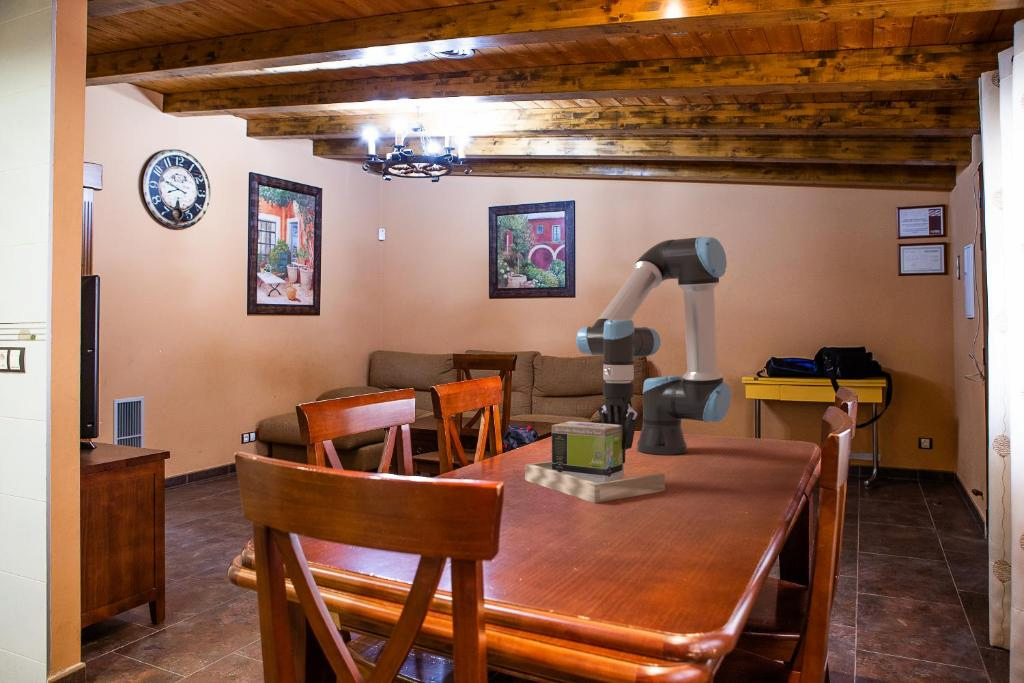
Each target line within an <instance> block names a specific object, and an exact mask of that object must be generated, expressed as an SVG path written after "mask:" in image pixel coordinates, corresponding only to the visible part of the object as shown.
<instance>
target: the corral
mask: <svg viewBox="0 0 1024 683" xmlns="http://www.w3.org/2000/svg"><path fill="white" fill-rule="evenodd" d="M525 480H526V481H527V482H529V483H531V484H535V485H538V486H542V487H544V488H548V489H550V490H553V491H557V492H558V493H559V492H560V493H563V494H565V495H570V496H571V497H574V498H578V499H581V500H583V501H587V502H589V503H593V504H598V503H603V502H610V501H614V500H619V499H620V500H621V499H625V498H632V497H637V496H643V495H650V494H655V493H659V492H660V493H661V492H665V490H666V486H665V485H666V474H665V473H663V472H660V473H655V474H648V475H641V476H635V477H628V478H624V479H623V478H622V480H615V481H609V482H602V483H594V482H591V481H587V480H584V479H580V478H577V477H574V476H570V475H567V474H563V473H560V472H556V471H553V470H552V460H550V461H542V462H536V463H535V462H533V463H527V464H524V481H525ZM526 481H525V482H526Z"/></svg>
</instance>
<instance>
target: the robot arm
mask: <svg viewBox="0 0 1024 683" xmlns="http://www.w3.org/2000/svg"><path fill="white" fill-rule="evenodd" d="M721 243H722V242H720V241H719V240H718V239H717V238H716V237H711V236H700V237H690V238H689V237H688V238H687V237H686V238H678V239H677V238H676V239H666V240H663V241H661V242H659V243H657V244H655V245H653V246H652V247H651V248H649V249H648V250H646V252H644V253H643V254H642V255H641V256H640V257H639V258H638V259H637V260H636V261H635V263H634V264H633V266H632V268H631V274H630V275H629V276H628V278H627V279H626V281H625V282H624V283H623V285H622V286H621V287H620V288H619V290H618V291H617V292H616V294H615V295H614V296H613V298H612V299H611V301H610V302H609V303H608V305H607V306H606V308H605V309H604V310H603V311H602V313H601V314H600V315H599V317H598V318H597V319H596V320H595V322H594V324H593V325H592V326H589V325H588V326H583V327H581V328H580V329H579V330H578V331H577V333H576V337H575V342H576V347H577V350H578V351H579V352H580V353H582V354H583V355H592V356H603V362H602V363H603V369H602V370H603V372H602V374H603V376H602V379H603V380H604V382H603V383H602V395H603V396H602V397H604V398H605V400H604V405H602V406H600V407H598V408H597V412H598V414H599V416H600V423H602V424H616V425H622V451H623V470H622V471H623V472H622V477H624V476H625V464H626V451H627V450H630V449H632V448H633V442H634V437H635V431H636V427H637V426H636V424H637V421H638V419H639V417H640V411H639V410H638V411H635V409H634V408H633V403H632V398H634V391H635V390H634V386H635V385H634V383H633V380H635V378H634V377H635V376H634V374H635V372H634V371H635V370H634V358H635V357H636V358H637V357H646V358H647V357H649V356H653V355H655V354H656V353H657V352H658V351H659V349H660V347H661V342H662V341H661V337H660V334H659V333H658V331H656V329H654V328H651V327H648V326H647V327H646V326H642V327H638V326H637V327H635V323H634V321H633V320H632V318H634V315H635V314H636V313H637V312H638V310H639V309H640V307H641V306H642V304H643V303H644V302H645V300H646V299H647V297H648V296H649V294H650V293H651V292H652V290H653V289H655V288H658V287H659V286H660V285H661V283H662V282H664V281H667V280H672V279H674V280H677V286H678V287H679V288H680V289H682V291H683V305H684V306H683V307H684V325H685V326H684V327H685V328H684V329H685V348H686V349H685V351H686V369H687V370H686V372H685V373H684V374H683V375H682V376H681V375H671V376H660V377H658V376H657V377H650V378H647V379H645V380H644V381H643V387H642V427H641V430H640V434H639V439H638V440H637V442H636V450H637V451H638V452H640V453H645V454H650V455H662V456H665V455H667V456H668V455H669V456H670V455H682V454H686V453H687V452H688V446H687V442H686V440H685V436H684V433H683V428H682V420H688V421H689V420H690V421H691V420H692V421H699V422H705V423H708V422H709V423H712V422H713V423H717V422H721V421H722V420H723V419H725V417H726V416H727V414H728V412H729V410H730V407H731V404H732V389H731V386H730V384H729V383H727V382H724V375H723V374H722V373H721V372H720V371H718V359H717V358H718V357H717V354H718V352H717V330H716V309H715V308H716V306H715V302H716V301H715V288H716V287H717V286H718V285H719V284H720V278H721V277H723V276H724V275H725V273H726V271H727V265H728V264H727V263H728V262H727V256H726V252H725V248H724V247H723V245H722V244H721Z"/></svg>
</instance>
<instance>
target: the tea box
mask: <svg viewBox="0 0 1024 683" xmlns="http://www.w3.org/2000/svg"><path fill="white" fill-rule="evenodd" d="M551 461H552V470H553V471H556V472H560V473H563V474H567V475H570V476H574V477H577V478H580V479H584V480H587V481H591V482H594V483H602V482H609V481H615V480H622V479H623V476H622V472H623V471H622V470H623V451H622V425H616V424H602V423H601V422H600V423H599V422H589V421H588V422H585V421H570V420H569V421H565V422H561V423H555V424H551Z"/></svg>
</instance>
